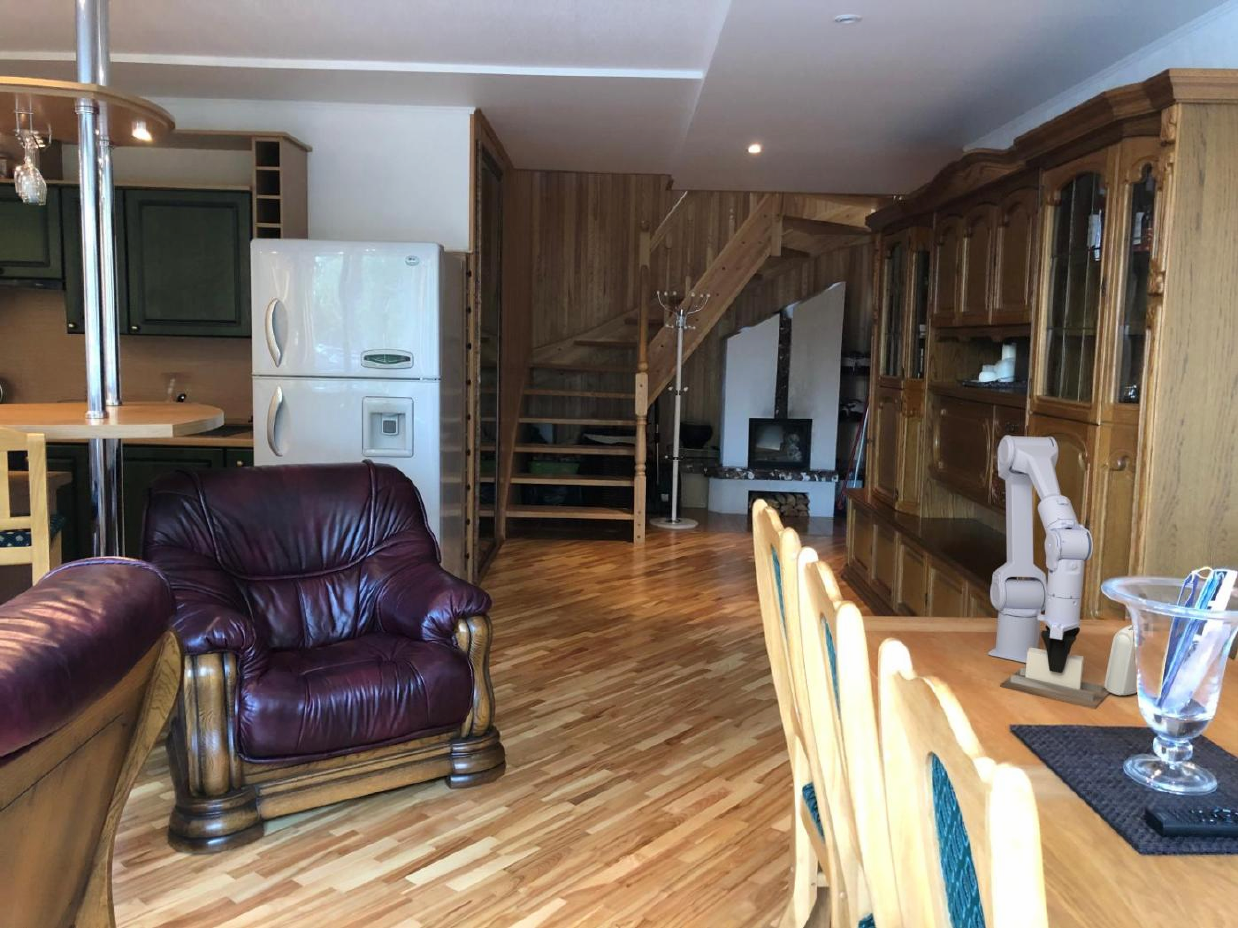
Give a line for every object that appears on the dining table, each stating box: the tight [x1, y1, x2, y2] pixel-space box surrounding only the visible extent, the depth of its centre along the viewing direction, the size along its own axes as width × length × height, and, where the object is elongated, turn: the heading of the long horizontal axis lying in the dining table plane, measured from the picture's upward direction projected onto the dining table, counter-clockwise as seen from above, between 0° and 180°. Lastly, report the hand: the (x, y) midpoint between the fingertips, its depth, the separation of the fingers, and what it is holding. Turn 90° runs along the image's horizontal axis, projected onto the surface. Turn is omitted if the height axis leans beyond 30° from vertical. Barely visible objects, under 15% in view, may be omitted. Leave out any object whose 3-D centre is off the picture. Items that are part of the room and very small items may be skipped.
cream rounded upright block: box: [1103, 624, 1136, 696], centre depth 176 cm, size 10×4×12 cm, turn 123°
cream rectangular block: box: [1025, 648, 1084, 690], centre depth 177 cm, size 3×9×6 cm, turn 59°
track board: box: [999, 667, 1111, 710], centre depth 177 cm, size 12×16×2 cm
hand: (1057, 668), depth 176 cm, fingers open, 4 cm apart
